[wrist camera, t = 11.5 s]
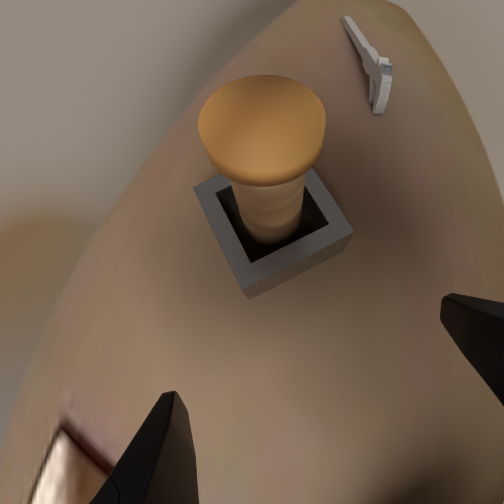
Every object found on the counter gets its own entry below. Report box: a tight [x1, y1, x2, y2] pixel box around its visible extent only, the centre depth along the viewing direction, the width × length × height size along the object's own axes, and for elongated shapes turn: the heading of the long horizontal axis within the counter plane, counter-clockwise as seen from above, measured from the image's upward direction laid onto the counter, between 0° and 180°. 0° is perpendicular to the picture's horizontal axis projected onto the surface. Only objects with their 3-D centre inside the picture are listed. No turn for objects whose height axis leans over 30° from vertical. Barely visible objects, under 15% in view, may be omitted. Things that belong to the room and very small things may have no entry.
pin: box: [198, 75, 326, 255], centre depth 18 cm, size 5×5×13 cm
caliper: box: [341, 16, 392, 115], centre depth 27 cm, size 20×1×6 cm, turn 178°
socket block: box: [193, 167, 354, 299], centre depth 22 cm, size 8×8×4 cm
